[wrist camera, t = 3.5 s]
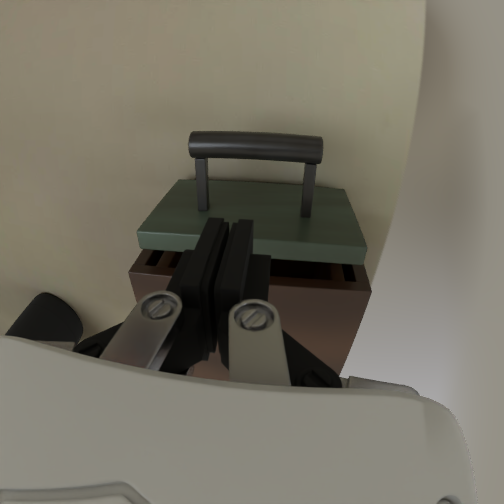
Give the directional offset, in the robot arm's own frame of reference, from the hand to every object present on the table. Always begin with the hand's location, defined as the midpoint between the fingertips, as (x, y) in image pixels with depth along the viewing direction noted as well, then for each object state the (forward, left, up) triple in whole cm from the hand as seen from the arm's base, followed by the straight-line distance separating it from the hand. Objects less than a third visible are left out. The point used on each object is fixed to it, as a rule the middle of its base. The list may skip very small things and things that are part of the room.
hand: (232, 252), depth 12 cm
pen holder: (+35, +2, -12) cm, 37 cm away
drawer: (+3, +5, -11) cm, 13 cm away
